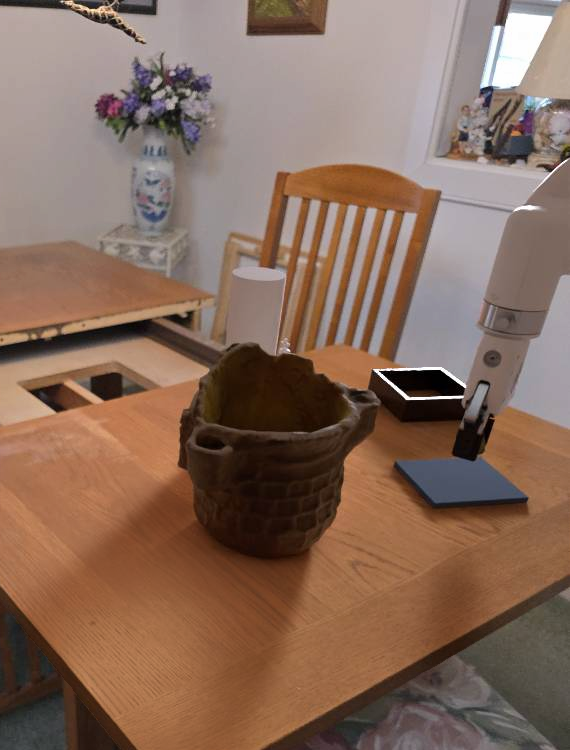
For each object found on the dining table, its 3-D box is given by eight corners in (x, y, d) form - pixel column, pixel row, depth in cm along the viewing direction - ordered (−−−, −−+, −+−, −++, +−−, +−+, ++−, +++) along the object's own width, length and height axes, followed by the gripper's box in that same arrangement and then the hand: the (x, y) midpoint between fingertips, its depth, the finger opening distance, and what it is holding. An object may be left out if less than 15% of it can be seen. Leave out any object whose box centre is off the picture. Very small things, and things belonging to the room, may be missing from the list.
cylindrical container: (206, 442, 107) (221, 271, 93) (237, 429, 111) (255, 264, 97) (242, 459, 103) (263, 283, 89) (272, 445, 107) (297, 275, 93)
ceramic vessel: (388, 570, 67) (259, 339, 62) (201, 622, 83) (84, 441, 78) (434, 470, 84) (335, 280, 78) (270, 529, 100) (178, 374, 94)
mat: (479, 461, 106) (481, 456, 106) (527, 502, 96) (529, 497, 96) (393, 465, 104) (394, 460, 103) (433, 508, 94) (435, 503, 93)
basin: (436, 388, 130) (441, 367, 128) (475, 419, 119) (482, 397, 117) (367, 390, 127) (371, 369, 125) (401, 422, 116) (407, 399, 114)
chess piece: (279, 402, 121) (288, 345, 115) (258, 393, 124) (265, 337, 118) (297, 396, 124) (306, 340, 118) (276, 387, 127) (284, 332, 121)
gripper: (529, 342, 79) (480, 482, 89) (556, 309, 91) (511, 437, 101) (461, 327, 83) (422, 465, 93) (496, 298, 94) (458, 422, 105)
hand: (469, 449), depth 97 cm, fingers closed on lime, 4 cm apart
